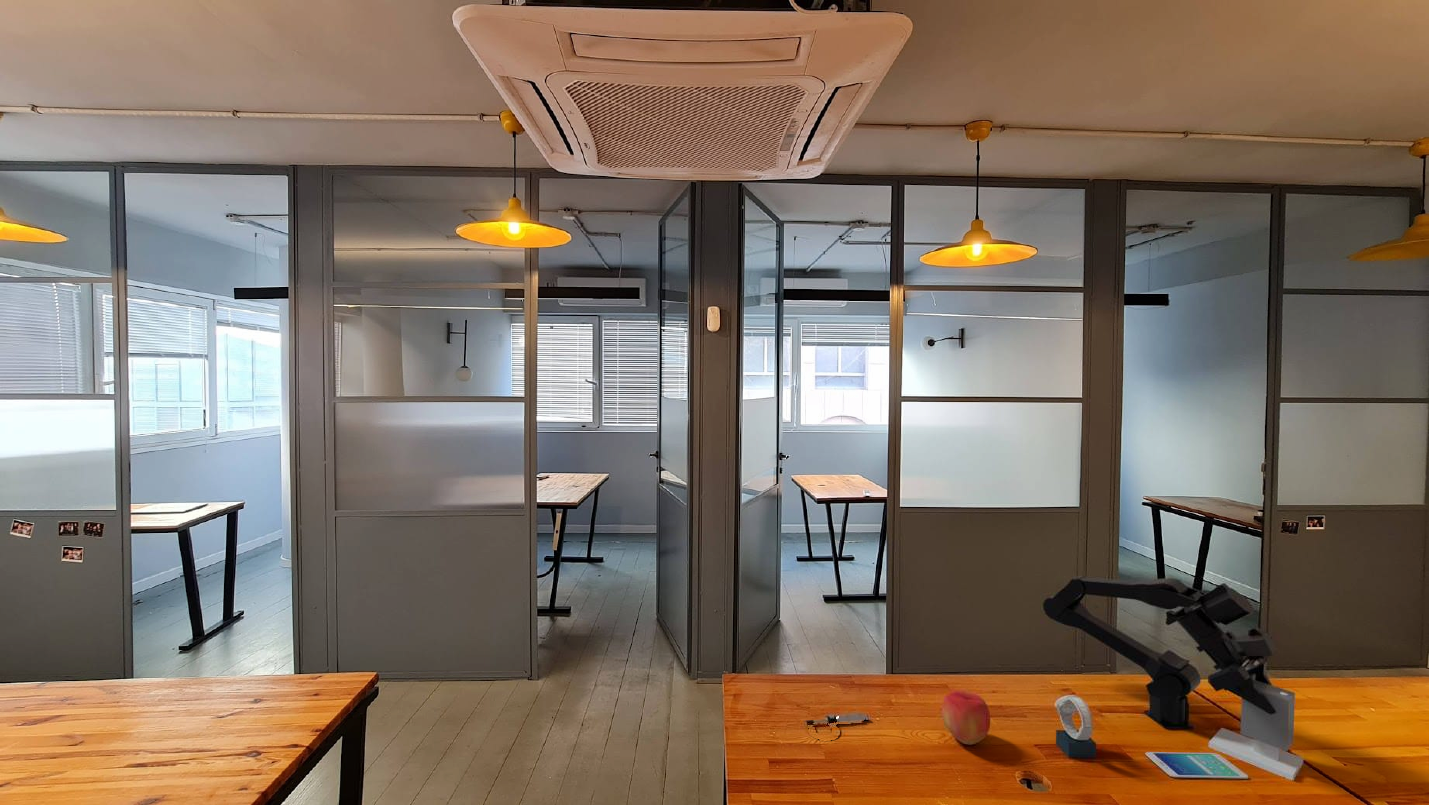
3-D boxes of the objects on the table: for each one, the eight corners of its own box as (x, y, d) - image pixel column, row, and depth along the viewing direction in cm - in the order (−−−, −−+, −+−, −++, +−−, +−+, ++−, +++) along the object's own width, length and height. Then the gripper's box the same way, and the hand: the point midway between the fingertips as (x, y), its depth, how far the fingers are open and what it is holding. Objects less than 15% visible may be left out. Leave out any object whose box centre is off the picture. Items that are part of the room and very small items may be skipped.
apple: (996, 757, 115) (996, 709, 115) (946, 751, 117) (947, 703, 117) (983, 729, 124) (984, 684, 124) (937, 724, 126) (938, 680, 126)
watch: (1076, 739, 121) (1076, 688, 121) (1101, 763, 113) (1102, 709, 113) (1050, 738, 121) (1050, 688, 121) (1073, 763, 113) (1074, 709, 113)
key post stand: (1208, 747, 118) (1209, 723, 118) (1221, 732, 123) (1222, 709, 123) (1292, 781, 108) (1293, 755, 108) (1303, 763, 113) (1303, 738, 113)
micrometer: (813, 745, 120) (813, 733, 120) (803, 725, 127) (803, 714, 127) (879, 738, 122) (880, 727, 122) (866, 719, 129) (866, 708, 129)
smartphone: (1251, 778, 108) (1171, 776, 109) (1251, 782, 108) (1171, 780, 109) (1217, 753, 116) (1143, 751, 116) (1217, 757, 116) (1143, 755, 116)
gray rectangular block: (1240, 733, 115) (1242, 684, 115) (1247, 725, 118) (1249, 677, 118) (1287, 751, 110) (1288, 700, 110) (1293, 742, 113) (1295, 691, 113)
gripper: (1230, 628, 111) (1309, 709, 103) (1256, 607, 122) (1328, 679, 113) (1179, 652, 118) (1249, 730, 109) (1208, 630, 129) (1273, 700, 120)
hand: (1277, 709), depth 113 cm, fingers closed on gray rectangular block, 5 cm apart
